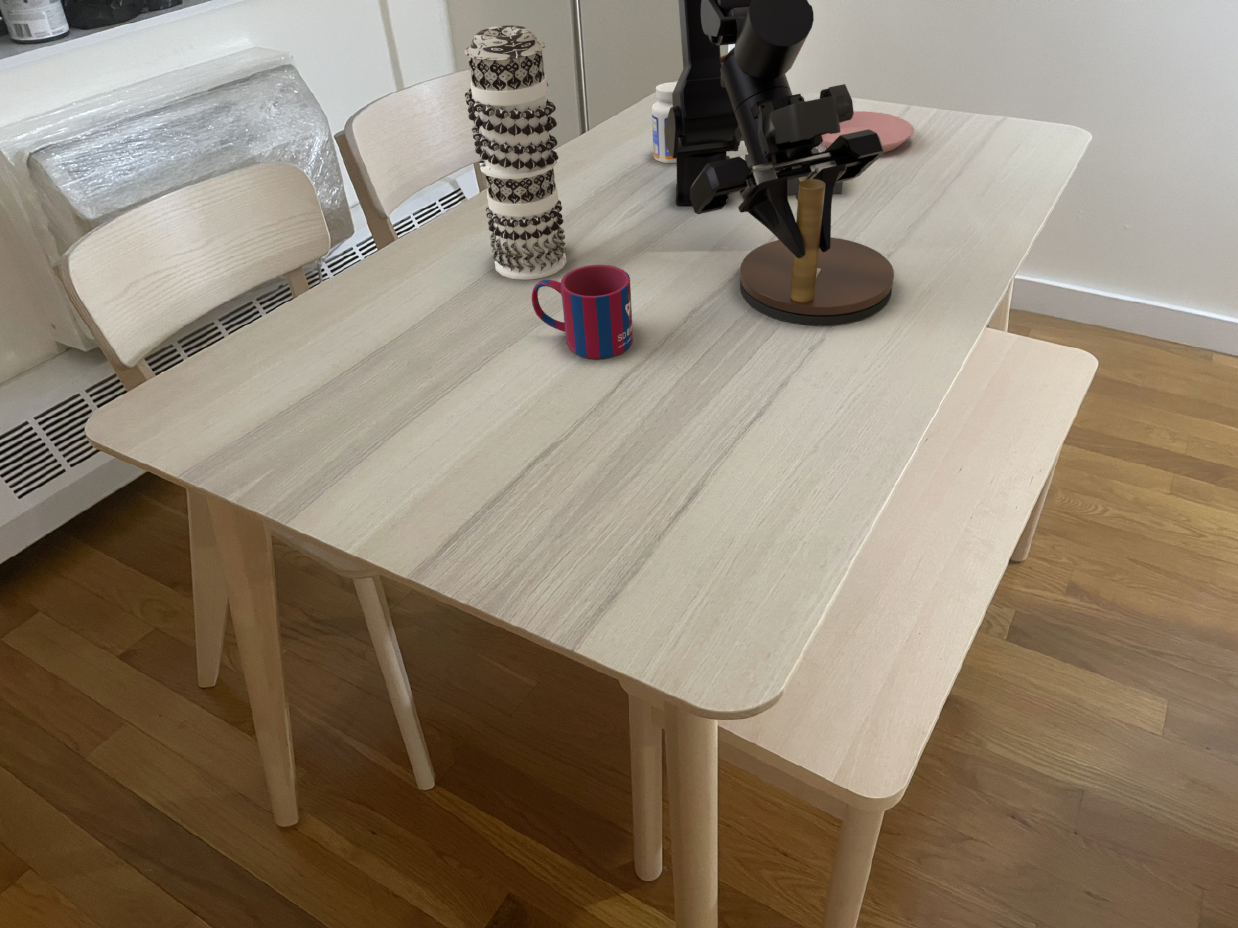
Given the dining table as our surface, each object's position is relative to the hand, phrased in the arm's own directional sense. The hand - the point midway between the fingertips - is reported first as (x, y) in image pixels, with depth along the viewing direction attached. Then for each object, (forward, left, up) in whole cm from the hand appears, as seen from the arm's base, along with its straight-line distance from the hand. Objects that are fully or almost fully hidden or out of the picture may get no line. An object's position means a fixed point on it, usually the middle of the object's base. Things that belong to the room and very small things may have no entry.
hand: (814, 253), depth 86 cm
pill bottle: (-15, +46, -8) cm, 49 cm away
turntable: (+1, +7, -6) cm, 10 cm away
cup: (-23, -3, -8) cm, 24 cm away
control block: (+1, +36, -8) cm, 37 cm away
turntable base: (+1, +7, -8) cm, 11 cm away
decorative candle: (-31, +14, -8) cm, 35 cm away
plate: (+12, +50, -8) cm, 52 cm away
